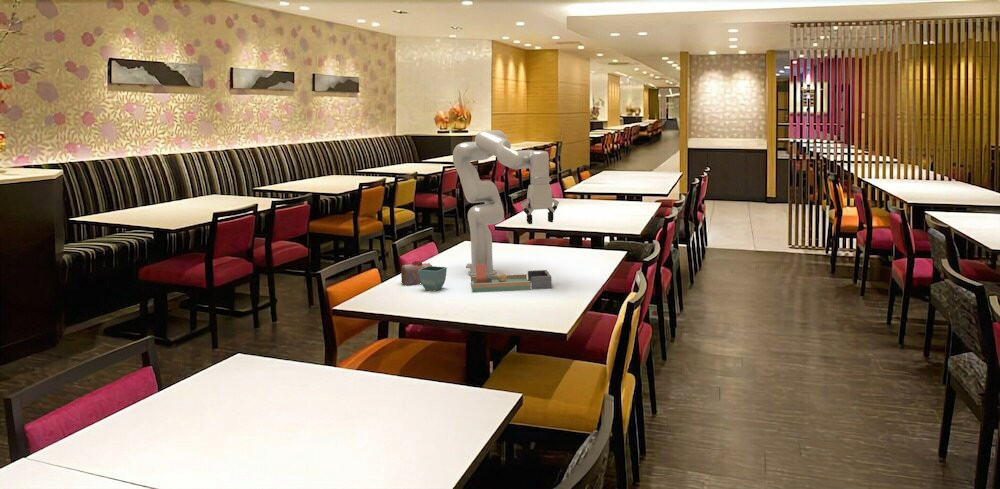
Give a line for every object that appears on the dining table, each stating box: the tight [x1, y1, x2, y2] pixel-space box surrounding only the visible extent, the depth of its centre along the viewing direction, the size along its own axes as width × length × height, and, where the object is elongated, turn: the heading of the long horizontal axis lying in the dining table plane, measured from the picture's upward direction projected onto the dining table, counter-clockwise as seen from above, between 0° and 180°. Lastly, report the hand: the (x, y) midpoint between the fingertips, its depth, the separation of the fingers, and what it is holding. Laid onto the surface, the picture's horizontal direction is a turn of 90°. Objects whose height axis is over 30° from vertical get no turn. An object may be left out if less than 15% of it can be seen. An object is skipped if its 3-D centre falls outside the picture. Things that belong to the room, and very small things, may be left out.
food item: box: [400, 260, 433, 286], centre depth 328 cm, size 14×8×10 cm, turn 113°
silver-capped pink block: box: [474, 264, 492, 284], centre depth 316 cm, size 7×4×8 cm, turn 94°
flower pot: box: [419, 265, 448, 292], centre depth 315 cm, size 9×9×9 cm
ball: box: [497, 272, 507, 282], centre depth 316 cm, size 4×4×4 cm
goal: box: [527, 269, 553, 290], centre depth 318 cm, size 8×13×5 cm, turn 4°
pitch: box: [470, 273, 532, 293], centre depth 317 cm, size 24×15×3 cm, turn 94°
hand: (540, 222), depth 313 cm, fingers open, 9 cm apart
